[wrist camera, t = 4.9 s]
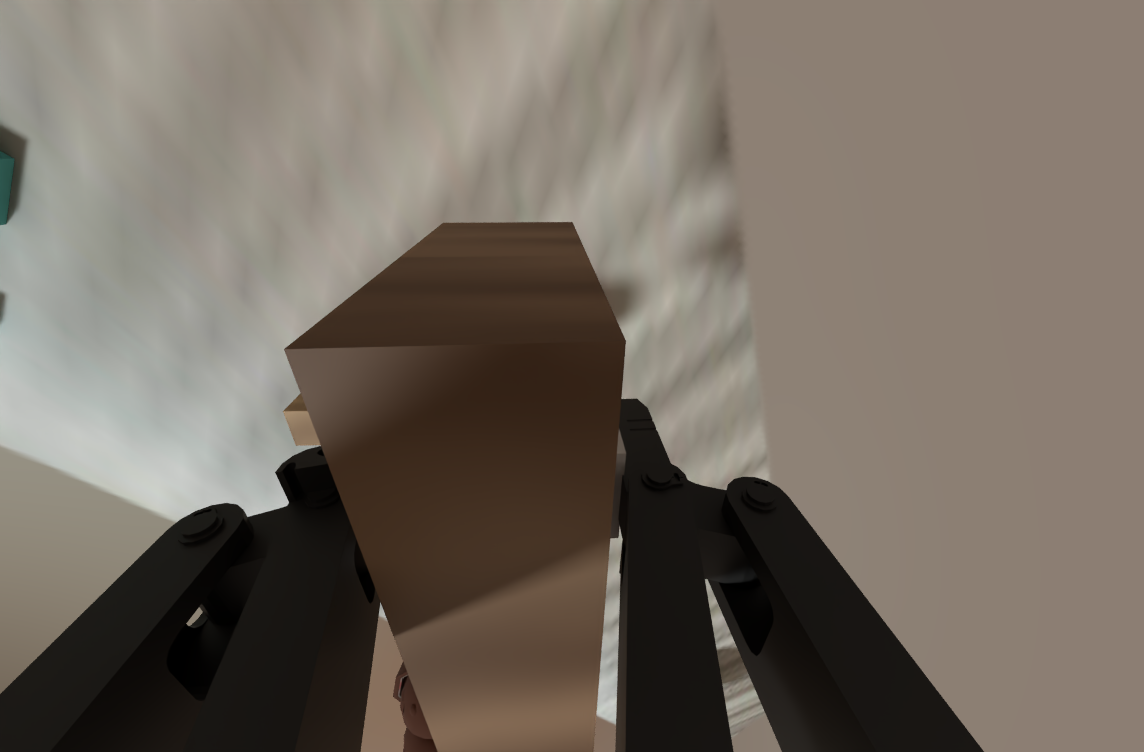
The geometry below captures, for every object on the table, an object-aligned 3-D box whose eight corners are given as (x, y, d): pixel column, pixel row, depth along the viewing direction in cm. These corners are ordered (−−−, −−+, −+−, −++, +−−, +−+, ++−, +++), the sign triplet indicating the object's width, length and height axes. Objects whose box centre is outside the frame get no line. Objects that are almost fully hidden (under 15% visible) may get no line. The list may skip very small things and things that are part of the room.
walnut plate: (443, 223, 12) (283, 349, 5) (572, 222, 13) (625, 340, 5) (487, 531, 19) (452, 790, 12) (570, 526, 20) (591, 777, 12)
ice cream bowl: (522, 616, 49) (516, 786, 36) (428, 624, 48) (388, 801, 35) (513, 559, 44) (502, 734, 31) (408, 568, 43) (351, 750, 30)
